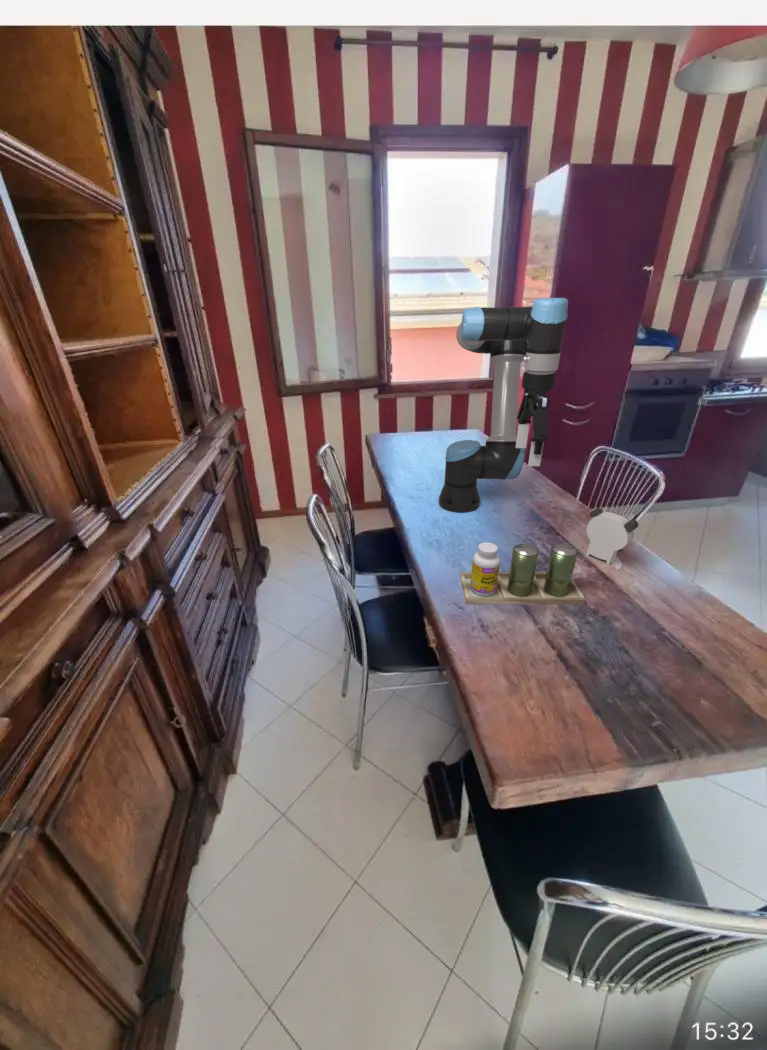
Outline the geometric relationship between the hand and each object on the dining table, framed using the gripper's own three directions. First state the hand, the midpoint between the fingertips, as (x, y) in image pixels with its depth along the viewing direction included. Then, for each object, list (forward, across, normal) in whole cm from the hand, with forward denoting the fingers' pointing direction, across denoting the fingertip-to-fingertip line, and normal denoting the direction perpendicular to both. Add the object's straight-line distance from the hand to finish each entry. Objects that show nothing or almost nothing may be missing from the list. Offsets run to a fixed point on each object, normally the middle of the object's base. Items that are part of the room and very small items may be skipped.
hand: (526, 456), depth 110 cm
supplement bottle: (+30, +19, -12) cm, 37 cm away
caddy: (+31, +18, -2) cm, 36 cm away
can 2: (+30, +18, +7) cm, 36 cm away
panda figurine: (+31, +3, +25) cm, 40 cm away
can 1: (+30, +18, -2) cm, 35 cm away
